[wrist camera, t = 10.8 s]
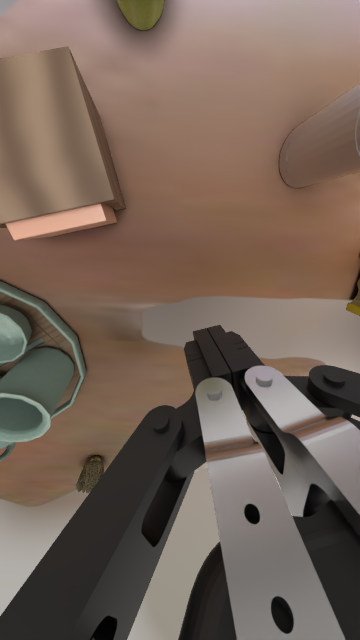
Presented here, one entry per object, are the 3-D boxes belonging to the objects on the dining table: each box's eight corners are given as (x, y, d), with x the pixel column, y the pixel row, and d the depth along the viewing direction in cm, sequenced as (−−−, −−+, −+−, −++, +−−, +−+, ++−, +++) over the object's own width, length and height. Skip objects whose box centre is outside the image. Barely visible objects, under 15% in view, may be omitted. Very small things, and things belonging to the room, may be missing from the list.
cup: (106, 464, 65) (101, 493, 58) (83, 464, 63) (75, 494, 56) (109, 451, 62) (103, 480, 55) (85, 450, 60) (76, 480, 53)
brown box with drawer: (99, 116, 28) (68, 46, 17) (125, 208, 33) (114, 199, 23) (-10, 137, 27) (-113, 78, 16) (35, 227, 33) (-21, 227, 22)
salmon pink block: (95, 153, 29) (73, 123, 20) (117, 222, 33) (106, 220, 25) (16, 169, 28) (-39, 144, 20) (48, 237, 32) (14, 240, 24)
